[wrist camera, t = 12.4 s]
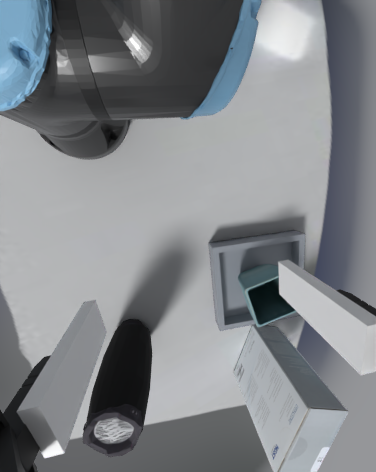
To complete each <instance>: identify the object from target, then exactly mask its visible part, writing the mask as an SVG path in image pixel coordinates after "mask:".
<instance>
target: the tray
mask: <svg viewBox="0 0 376 472" xmlns="http://www.w3.org/2000/svg"><path fill="white" fill-rule="evenodd" d="M304 251H305V234H304V233H301V232H298V231H295V230H293V231H286V232H279V233H273V234H266V235H259V236H253V237H246V238H239V239H232V240H226V241H219V242H212V243H209V254H210V265H211V275H212V286H213V297H214V308H215V318H216V323H217V325H218V328H219V330H220V331H223V330H228V329H233V328H238V327H244V326H249V325H254V324H255V322H254V320H253V318H252V316H251V314H250V311H249V309H248V307H247V304H246V301H245V298H244V295H243V292H242V289H241V286H240V284H239V281H238V276H239V274H240V273H242V272H245V271H247V270H250V269H252V268H254V267H257V266H259V265H263V264H272V265H276V266H278V267H279V265H278V262H279V261H284V260H290V261H291V262H293V263H294V264H296V265H297V266H299V267H301V268H302V269H304ZM296 316H301V315H300V314H299V313H298V312H295V313H293V314H290V315H288V316H285V317H283V318H280V319H285V318H291V317H296ZM280 319H278V320H280Z"/></svg>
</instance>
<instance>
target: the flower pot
mask: <svg viewBox="0 0 376 472" xmlns="http://www.w3.org/2000/svg"><path fill="white" fill-rule="evenodd" d="M238 281H239V284H240V286H241V289H242V292H243V295H244V298H245V301H246V304H247V307H248V309H249V311H250V314H251V316H252V318H253V320H254V322H255V324H256V326H257V327H261V326H264V325H266V324H269V323H271V322H273V321H275V320H278V319H280V318H283V317H285V316H288V315H290V314H293V313H295V312H297V311H296V310H295V309H294V308H293V307H292V306H291V305H290V304H289V303H288V302H287V301H286V300H285V299H284V298H283V297H282V296H281V295H280V294H279V267H278V266H276V265H272V264H263V265H259V266H257V267H254V268H252V269H250V270H247V271H245V272H242V273H240V274H239V276H238Z"/></svg>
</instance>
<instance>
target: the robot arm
mask: <svg viewBox="0 0 376 472" xmlns="http://www.w3.org/2000/svg"><path fill="white" fill-rule="evenodd" d="M260 5H261V0H0V115H2V116H4V117H7V118H9V119H12V120H14V121H16V122H19V123H21V124H24V125H26V126H28V127H31V128H33V129H35V130H36V131H37V132H38V133H39V134H40V135H41V137H42V138H43V139H44V140H45V141H46V142H47V143H49V144H50V145H51V146H52V147H54V148H55V149H57V150H58V151H60V152H62V153H64V154H67V155H69V156H72V157H76V158H80V159H98V158H102V157H104V156H107V155H109V154H110V153H112V152H113V151H114V150H116V149H117V148H118V147H119V145H120V144H121V143H122V141H123V139H124V138H125V135H126V133H127V130H128V125H129V119H151V118H174V117H180V118H181V119H190V118H193V117H196V116H207V115H213V114H216V113H217V112H219V111H221V110H222V109H224V108H225V107H226V106H227V105H228V103H229V102H230V101H231V99H232V98H233V96H234V95H235V93H236V91H237V89H238V87H239V85H240V83H241V81H242V78H243V76H244V73H245V71H246V68H247V65H248V62H249V59H250V56H251V53H252V49H253V45H254V41H255V37H256V32H257V27H258V21H257V20H256V16H257V13H258V10H259V8H260ZM278 265H279V294H280V295H281V296H282V297H283V298H284V299H285V300H286V301H287V302H288V303H289V304H290V305H291V306H292V307H293V308H294V309H295V310H296V311H297V312H298V313H299V314H300V315H301V316H302V317H303V318H304V319H305V320H306V321H307V322H308V323H309V324H310V325H311V326H312V327H313V328H314V329H315V330H316V331H317V332H318V333H319V334H320V335H321V336H322V337H323V338H324V339H325V340H326V341H327V342H328V343H329V344H330V345H331V346H332V347H333V348H334V349H335V350H336V351H337V352H338V353H339V354H340V355H341V356H342V357H343V358H344V359H345V360H346V361H347V362H348V363H349V364H350V365H351V366H352V367H353V368H354V369H355V370H356V371H357V372H358V373H359V374H360V375H364V374H368V373H372V372H375V371H376V309H375V308H374V307H372V306H370V305H368V304H367V303H366V302H364V301H361V300H360V299H359V298H357V297H356V296H354V295H353V294H351V293H348V292H345V291H343V290H334V289H333V288H331V287H330V286H328V285H327V284H325V283H324V282H322V281H320V280H319V279H317V278H316V277H314V276H313V275H311V274H310V273H308V272H307V271H305V270H304V269H302V268H301V267H299V266H297V265H296V264H294V263H293V262H291V261H290V260H284V261H279V262H278ZM106 333H107V332H106V329H105V326H104V323H103V320H102V317H101V314H100V312H99V309H98V306H97V303H96V300H93V301H88V302H84V303H83V305H82V306H81V308H80V310H79V311H78V313H77V314H76V316H75V318H74V319H73V321H72V322H71V324H70V326H69V327H68V329H67V331H66V332H65V334H64V335H63V337H62V339H61V340H60V342H59V344H58V345H57V347H56V348H55V350H54V352H53V353H52V355H51V356H46V357H44V358H43V359H42V360H41V361H40V362H39V363H38V364H37V365H36V366H35V367H34V368H33V370H32V371H31V373H30V374H29V376H28V379H26V380H25V382H24V383H23V385H22V388H20V389H19V391H18V392H17V394H16V395H15V397H14V398H13V400H12V401H11V403H10V404H9V406H8V407H7V409H6V410H5V412H4V413H3V414H2V412H1V410H0V472H38V471H37V467H36V465H35V464H34V460H35V457H36V456H37V453H38V451H39V449H40V451H41V452H42V454H43V456H44V458H48V457H52V456H55V455H59V454H63V453H65V450H66V447H67V444H68V441H69V439H70V436H71V433H72V430H73V427H74V424H75V421H76V419H77V416H78V413H79V410H80V407H81V404H82V401H83V399H84V396H85V393H86V390H87V387H88V384H89V382H90V379H91V376H92V373H93V370H94V367H95V364H96V362H97V359H98V356H99V353H100V350H101V347H102V344H103V342H104V339H105V336H106Z"/></svg>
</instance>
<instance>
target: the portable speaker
mask: <svg viewBox="0 0 376 472" xmlns="http://www.w3.org/2000/svg"><path fill="white" fill-rule="evenodd" d="M151 364H152V346H151V336H150V331H149V329H148V328H147V327H146V326H145V325H143V324H142V323H141V322H140V321H139V320H136V319H130V320H127V321H124V322H123V323H122V324H121V325H120V326H119V327H118V329H117V330H116V331H115V333H114V335H113V337H112V339H111V342H110V344H109V346H108V348H107V350H106V352H105V355H104V357H103V360H102V363H101V366H100V369H99V372H98V376H97V379H96V382H95V385H94V388H93V392H92V396H91V401H90V406H89V411H88V417H87V422H86V423H87V424H85V426H86V427H85V426H84V429H83V430H84V433H83V443H84V444H87V445H88V446H90V447H91V448H93V449H94V450H96V451H98V452H101V453H103V454H105V455H107V456H108V457H113V456H122V455H124V454H126V453H128V452H129V451H131V450H132V449H133V448H134V446H135V445H136V443H137V440H138V438H139V436H140V434H141V432H142V430H143V425H144V420H145V414H146V408H147V403H148V397H149V391H150V379H151Z"/></svg>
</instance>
